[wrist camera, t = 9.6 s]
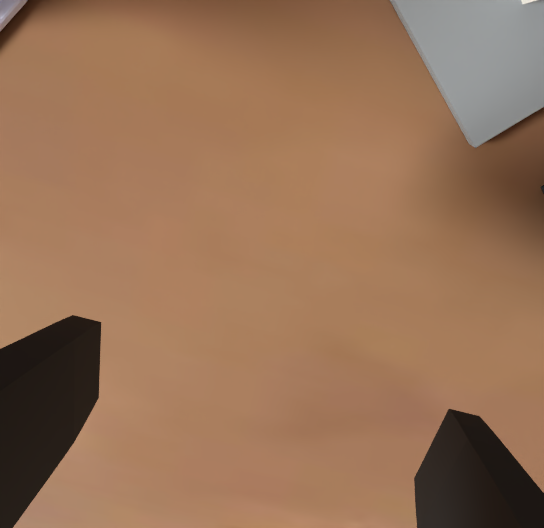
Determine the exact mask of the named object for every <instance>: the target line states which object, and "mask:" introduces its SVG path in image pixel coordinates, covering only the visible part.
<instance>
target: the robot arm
mask: <svg viewBox="0 0 544 528" xmlns="http://www.w3.org/2000/svg"><path fill="white" fill-rule="evenodd" d="M27 1H28V0H0V31H1V30H2V29H3V28H4V27H5V26H6V25H7V23H8V22H9V21H10V20H11V19H12V18H13V17H14V16H15V14H16V13H17V12H18V11H19V10H20V9H21V8H22V7H23V5H24V4H25V3H26V2H27ZM100 341H101V322H98V321H94V320H90V319H86V318H82V317H78V316H74V315H72V316H70V317H68V318H65V319H63V320H61V321H58V322H56V323H54V324H52V325H50V326H48V327H46V328H44V329H41V330H39V331H37V332H35V333H33V334H31V335H29V336H27V337H25V338H23V339H21V340H18V341H16V342H14V343H12V344H10V345H8V346H6V347H4V348H2V349H0V528H13V527H14V525H15V524H16V522H17V521H18V520H19V518H20V517H21V516H22V514H23V513H24V511H25V510H26V509H27V507H28V506H29V504H30V503H31V502H32V500H33V499H34V498H35V496H36V495H37V493H38V492H39V491H40V489H41V488H42V487H43V485H44V484H45V482H46V481H47V480H48V478H49V477H50V475H51V474H52V473H53V471H54V470H55V468H56V467H57V466H58V464H59V463H60V461H61V460H62V459H63V457H64V456H65V454H66V453H67V452H68V450H69V449H70V447H71V446H72V444H73V443H74V441H75V440H76V438H77V436H78V434H79V433H80V431H81V429H82V427H83V426H84V424H85V422H86V420H87V418H88V416H89V415H90V413H91V411H92V409H93V407H94V405H95V403H96V402H97V400H98V398H99V370H100ZM414 481H415V502H416V517H417V528H544V493H543V492H542V491H541V489H540V488H539V487H538V486H537V485H536V483H535V482H534V481H533V480H532V478H531V477H530V476H529V475H528V474H527V472H526V471H525V470H524V469H523V467H522V466H521V465H520V464H519V463H518V461H517V460H516V459H515V458H514V456H513V455H512V454H511V453H510V452H509V450H508V449H507V448H506V447H505V446H504V444H503V443H502V442H501V441H500V439H499V438H498V437H497V436H496V435H495V433H494V432H493V431H492V430H491V429H490V428H489V426H488V425H487V424H486V423H485V422H484V421H483V420H482V419H481V418H480V416H476V415H472V414H468V413H464V412H460V411H456V410H452V409H449V410H448V412H447V414H446V416H445V418H444V420H443V422H442V424H441V426H440V428H439V430H438V432H437V434H436V436H435V438H434V440H433V442H432V444H431V446H430V448H429V450H428V452H427V454H426V456H425V458H424V460H423V462H422V464H421V466H420V468H419V470H418V472H417V474H416V476H415V478H414Z"/></svg>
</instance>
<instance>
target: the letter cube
mask: <svg viewBox="0 0 544 528" xmlns="http://www.w3.org/2000/svg"><path fill="white" fill-rule="evenodd" d="M521 1H522V4H526V3H530V2H533V1H537V0H521Z"/></svg>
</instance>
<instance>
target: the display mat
mask: <svg viewBox="0 0 544 528" xmlns="http://www.w3.org/2000/svg"><path fill="white" fill-rule="evenodd" d="M390 2H391V3H392V5H393V7H394V9H395V11H396V12H397V14H398V16H399V18H400V20H401V21H402V23H403V25H404V27H405V29H406V31H407V32H408V34H409V36H410V38H411V40H412V41H413V43H414V45H415V47H416V49H417V50H418V52H419V54H420V56H421V58H422V60H423V61H424V63H425V65H426V67H427V69H428V70H429V72H430V74H431V76H432V78H433V79H434V81H435V83H436V85H437V87H438V89H439V90H440V92H441V94H442V96H443V98H444V99H445V101H446V103H447V105H448V107H449V108H450V110H451V112H452V114H453V116H454V118H455V119H456V121H457V123H458V125H459V127H460V128H461V130H462V132H463V134H464V136H465V137H466V139H467V141H468V143H469V144H470V145H472V146H473V147H475V148H476V147H478V146H479V145H481V144H483V143H484V142H486V141H488V140H489V139H491V138H493V137H494V136H496V135H498V134H499V133H501V132H503V131H504V130H506V129H508V128H509V127H511V126H513V125H514V124H516V123H518V122H519V121H521V120H523V119H524V118H526V117H528V116H529V115H531V114H533V113H534V112H536V111H538V110H539V109H541V108H543V107H544V0H537V1H533V2H530V3H526V4H522V1H521V0H390Z"/></svg>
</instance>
